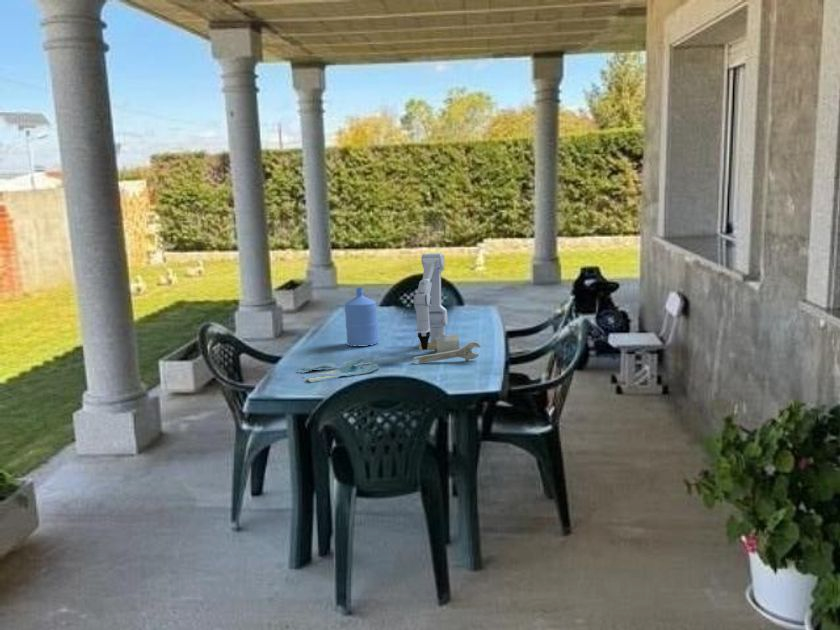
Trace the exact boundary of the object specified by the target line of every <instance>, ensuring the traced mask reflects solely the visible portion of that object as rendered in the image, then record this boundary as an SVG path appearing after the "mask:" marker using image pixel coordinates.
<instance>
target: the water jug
mask: <svg viewBox="0 0 840 630" xmlns="http://www.w3.org/2000/svg"><path fill="white" fill-rule="evenodd" d="M355 290H356V297H354V298H352V299H350V300H348V301H346V302H345V303H344V313H345V330H346V344H347V343H348V344H349V345H356V346H359V345H371V344H375V343H377V344H379V342H380V341H379V339H380V338H379V331H378V330H379V328H378V326H379V325H378V316H377V315H378V314H377V313H378V312H377V302H376V301H375V300H374V299H371V298H368V297H367V296H364V293H363V292H364V291H363V287H356V288H355ZM348 344H347V345H348ZM349 345H348V346H349Z"/></svg>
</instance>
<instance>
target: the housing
mask: <svg viewBox="0 0 840 630" xmlns="http://www.w3.org/2000/svg"><path fill="white" fill-rule="evenodd" d="M436 342H437V353H443V352H449V351H455V350H458V349H460V338H459V336H458V334H457V333H456V334H455V333H453V334H452V333H451V334H445V335H436ZM437 353H436V354H437Z"/></svg>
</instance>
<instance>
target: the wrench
mask: <svg viewBox="0 0 840 630" xmlns="http://www.w3.org/2000/svg"><path fill="white" fill-rule="evenodd" d="M474 347H475V348H478V349H479V348H480V349H482V348H481V347H482V346H481V345H480V343H478V342H476V341H469V342H468V343H467V344H465V345H464V346H462V347H459V349H458V350H455V351H449V352H443V353H432V354H425V355H419V356H414V357H413V358H412V364H414V365H419V364H418V363H421V364H424V363H425V364H426V363H431V362H437V361H442V360H447V359H453V358H461V359H464V360H465V361H466V362H467V361H468V362H469V361H470V360H474V359H476V358H478V357H479V356H480V354H479V353H476V352H473V351H472V349H474ZM415 359H417V360H418V361H417V362H414V360H415ZM416 363H417V364H416Z"/></svg>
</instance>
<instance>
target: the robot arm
mask: <svg viewBox="0 0 840 630" xmlns="http://www.w3.org/2000/svg"><path fill="white" fill-rule="evenodd" d="M420 259H421V260H420V261H421V265H422V268H423V274H422V279H421V280H420V281H419V282H418V283H419V284H418V287H417V293H415V294H414V296H413V304H414V309H415V311H416V312H415V314H416V328H415V329H414V332H417V337H418V339H419V343H421V346H422V350H421V351H428V350H427V347H428V343H429V342H430V341H431V342H434V339H436V335H446V326H447V325H448V324H449V323H448V322H449V315H448V310H447V308H446V307H444V306H443V305H442V272H443V271H444V270H445V257H444V254H443V252H440V253H439V252H438V253H437V252H436V253H423V254H422V255H421V258H420ZM430 304H431V305H430ZM429 340H430V341H429Z"/></svg>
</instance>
